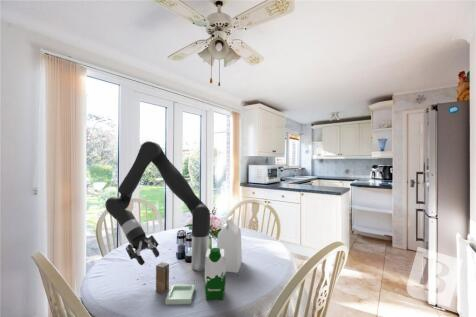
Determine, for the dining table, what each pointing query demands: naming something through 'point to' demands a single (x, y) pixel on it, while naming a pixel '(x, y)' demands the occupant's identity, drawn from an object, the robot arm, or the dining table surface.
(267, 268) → the dining table surface
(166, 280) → the brown wooden slotted block
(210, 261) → the milk carton
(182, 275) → the dining table surface
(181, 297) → the rest
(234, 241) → the milk
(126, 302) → the dining table surface
